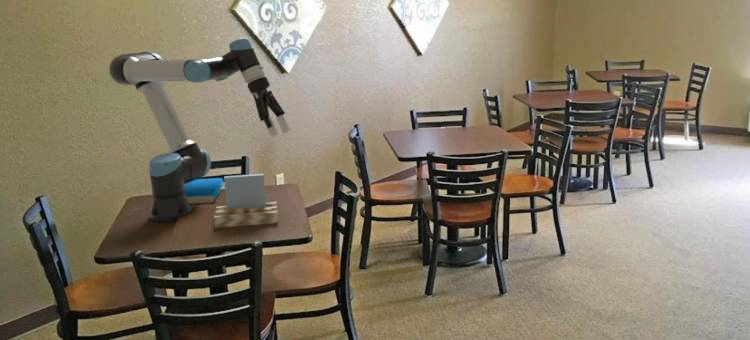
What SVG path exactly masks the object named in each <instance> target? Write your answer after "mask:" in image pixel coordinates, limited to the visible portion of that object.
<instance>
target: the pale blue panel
mask: <svg viewBox="0 0 750 340" xmlns="http://www.w3.org/2000/svg"><path fill="white" fill-rule="evenodd" d="M264 175H265V174H264V173H254V174H252V173H251V174H239V175H238V174H237V175H226V176H224V177H223V179H224V180H223V183H224V190H225V192H224V193H225V203H226V204H225V205H226V206H227V209H238V208H243V209H249V208H261V207H266V203H267V200H266V191H265V176H264Z"/></svg>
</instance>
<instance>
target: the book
mask: <svg viewBox="0 0 750 340" xmlns="http://www.w3.org/2000/svg"><path fill="white" fill-rule="evenodd" d="M223 185H224V180H223V177H215V178H199V179H197V180H194V181H191V182H189V183H186V184H184V189H185V195H186V198H187V200H188V202H189V204H190V205H194V204H196V203H197V204H211V203H212V204H213V203H215V202H216V200H217V199H218V196H219V194H220V192H221V190H222V188H223ZM197 204H196V205H197Z"/></svg>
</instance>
